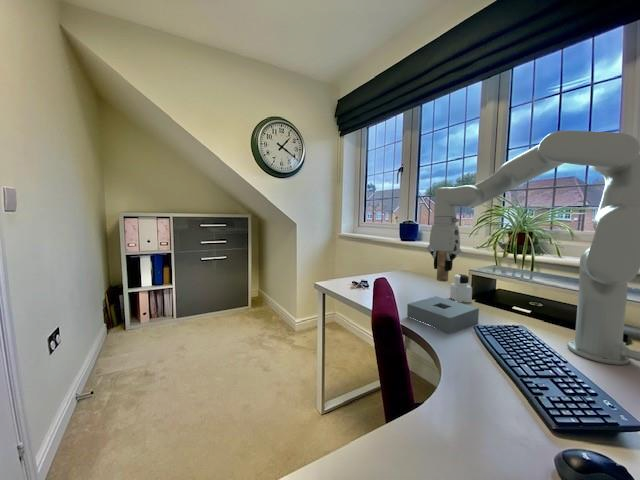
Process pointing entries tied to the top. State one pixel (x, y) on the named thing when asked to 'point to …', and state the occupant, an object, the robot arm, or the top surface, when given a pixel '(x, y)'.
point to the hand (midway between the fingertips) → (442, 269)
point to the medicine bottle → (461, 289)
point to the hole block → (443, 313)
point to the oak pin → (441, 267)
